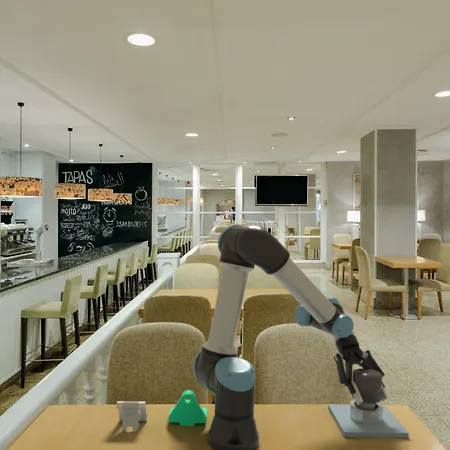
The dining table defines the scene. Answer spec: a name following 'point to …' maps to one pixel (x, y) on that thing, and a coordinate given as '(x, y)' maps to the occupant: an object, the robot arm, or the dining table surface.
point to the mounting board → (354, 429)
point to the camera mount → (188, 411)
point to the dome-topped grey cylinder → (368, 387)
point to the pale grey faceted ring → (366, 414)
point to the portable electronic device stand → (131, 413)
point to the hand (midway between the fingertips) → (372, 401)
